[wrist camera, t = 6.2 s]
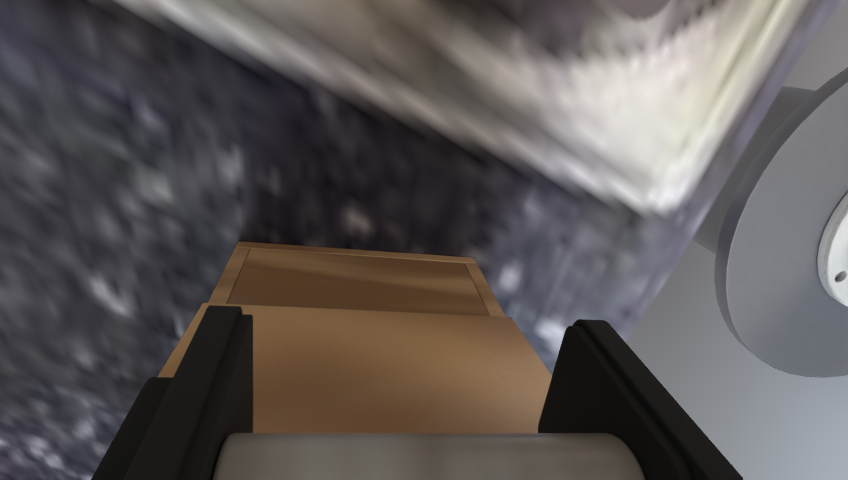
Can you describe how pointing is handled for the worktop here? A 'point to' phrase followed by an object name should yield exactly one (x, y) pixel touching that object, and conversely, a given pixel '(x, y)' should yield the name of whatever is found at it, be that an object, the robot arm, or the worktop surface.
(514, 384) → the lid
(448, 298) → the chest
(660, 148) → the worktop surface
